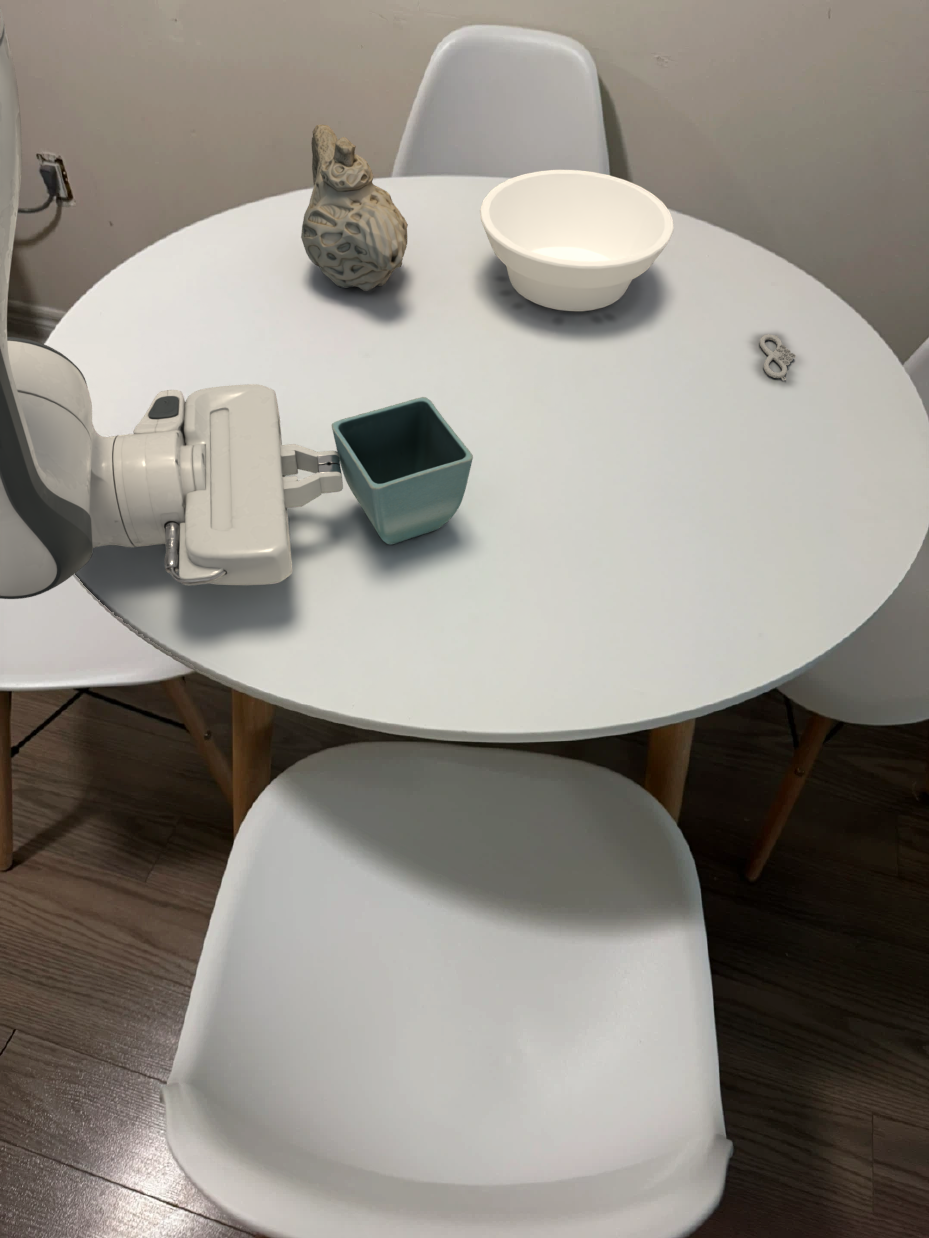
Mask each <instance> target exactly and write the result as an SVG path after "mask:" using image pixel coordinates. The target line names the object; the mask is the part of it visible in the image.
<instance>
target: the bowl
mask: <svg viewBox="0 0 929 1238" xmlns="http://www.w3.org/2000/svg"><path fill="white" fill-rule="evenodd" d="M479 216H480V222H481V224H482V226H483V227H482V228H483V229H484V232H485V234H486V237H487V240H488V242H489V245H490V246H491V249H492V251H493V252H494V255H495V256H496V257H497V258H498V259H499V260H500V261H501V262H502V263H503V265H505V266H506V271H507V275H508V278H509V281H510V284H511V286H512V288H514V290H515V291H516V292H517V293H518V294H519V295H521V296H522V297H523V298H525V299H526V300H528V301H530V302H532V303H534V304H536V305H539V306H542V307H544V308H548V309H553V310H558V311H565V312H587V311H594V310H599V309H602V308H605V307H608V306H610V305H613V304H614V303H616V302H617V301H618V300H620V299H621V298H622V297H623V296H624V295H625V294H626V291H627V290H628V288H629V286H630V284H631V283H632V281H633V280H634V279H637V278H638V277H640V276H641V275H642V274H644V273H645V272H646V271H648V269H649V268H650V267H651V266H652V265H653V264H654V263H655V262H656V260H657V259H658V257H659V256H660V254H661V253H662V252H663V251H664V249H665V248H666V247H667V245H668V244H669V243H670V241H671V239H672V237H673V234H674V220H673V217H672V214H671V211H670V210H669V208H667V206H666V205H665V203H664V202H663V201H662V200H661V199H660V198H658V197H657V196H656V195H654V194H653V193H651V191H649V190H647V189H645V188H644V187H642V186H640V185H638V184H635V183H633V182H631V181H628V180H627V179H623V178H621V177H620V178H619V177H616V176H613V175H609V174H605V173H601V172H600V173H599V172H596V171H588V170H579V169H578V170H577V169H550V170H548V169H547V170H537V171H533V172H527V173H524V174H520V175H518V176H514V177H511V178H509V179H507V180H504V181H503V182H501V183H499V184H497V185H496V186H495V187H494V188H492V189H491V190H490V191H489V192H488V193H487V195H486V196H485V197H484V198H483V200H482V203H481V206H480V209H479Z"/></svg>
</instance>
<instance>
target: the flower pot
mask: <svg viewBox="0 0 929 1238" xmlns="http://www.w3.org/2000/svg"><path fill="white" fill-rule="evenodd" d="M331 430H332V434H333V438H334V443H335V447H336V451H337V452H338V453H339V460H340V467H341V472H342V475H343V477H344V479H345V482H346V485H348V487H349V489H350V491H351V493H352V494H353V496H354V498H355V499H356V501H357V502H358V504H359V506H360V507H361V509H362V510H363V512H364V514H365V515H366V517H367V519H368V520H369V522H370V523H371V525H372V526H373V528H374V529H375V531H376V533H377V535H378V536H379V537H380V539H381V540H382V541H383V542H384V543H385V544H386V545H389V546H391V545H395V544H398V543H401V542H404V541H407V540H409V539H412V538H416V537H419V536H422V535H425V534H428V533H431V532H434V531H437V530H439V529H440V528H441V527H443V526H445V524H446V523H448V521H449V520H451V519H452V517H453V516H454V515H455V514H456V512H457V511H458V509H459V508H460V506H461V504H462V501H463V499H464V497H465V493H466V489H467V485H468V480H469V476H470V473H471V468H472V464H473V459H474V456H473V454H472V452H471V451H470V449H469V448H468V447H467V446H466V445H465V443H464V442H463V441H462V439H461V438H460V437H459V435H458V434H457V433H456V432H455V431H454V429H453V428H452V427H451V425H450V424H449V423H448V422H447V420H446V419H445V418H444V416H443V415H442V414H441V412H440V411H439V410H438V409H437V407H436V405H435V404H434V403H433V401H432V400H431V399H429V398H428V397H426V396H421V397H415V398H413V399H409V400H406V401H402V402H399V403H395V404H393V405H392V404H391V405H389V406H386V407H382V408H378V409H373V410H371V411H368V412H363V413H359V414H357V415H353V416H348V417H345V418H342V419H341V418H340V419H339V420H336V421H334V422H332V423H331Z"/></svg>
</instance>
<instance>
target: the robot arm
mask: <svg viewBox="0 0 929 1238" xmlns="http://www.w3.org/2000/svg"><path fill="white" fill-rule="evenodd" d="M19 96H20V95H19V88H18V80H17V74H16V68H15V62H14V58H13V53H12V48H11V44H10V41H9V36H8V32H7V28H6V23H5V21H4V15H3V12H2V8H1V7H0V600H21V599H27V598H28V599H29V598H33V597H37V596H39V595H42V594H44V593H46V592H49V591H51V590H52V589H54V588H56V587H58V586H59V585H61V584H63V583H64V582H66V581H67V580H68V579H70V578H71V577H73V576H74V575H75V574H76V573H78V572H79V571H80V570H81V569H82V568H83V567H85V565H87V564H88V563H89V561H90V560H91V558H92V555H93V552H94V549H95V548H98V547H103V546H120V547H124V548H141V547H148V546H149V547H150V546H158V545H164V546H165V555H164V559H163V566H164V569H165V572H167V574H170V576H171V577H172V578H173V579H174V580H175V581H177V582H178V583H181V584H182V585H184V586H197V585H206V584H210V585H219V586H220V585H222V586H260V585H274V584H279V583H281V582H283V581H285V580H286V579H287V578H289V577H290V576H291V575H292V574H293V562H292V549H291V538H290V537H291V536H290V535H291V534H290V526H289V513H288V509H291V508H300V507H304V506H305V505H307V504H308V503H311V502H312V501H314V500H315V499H317V498H319V497H320V496H322V495H323V494H332V493H340V492H341V491H343V490H344V483H343V472H342V468H341V464H340V460H339V453H338V452H337V450H329V451H328V450H326V451H325V450H324V451H317V450H314V449H311V448H308V447H305V446H302V445H299V444H296V443H291V444H290V443H288V444H283V441H282V429H281V428H282V427H281V418H280V410H279V403H278V398H277V393H276V391H275V390H274V389H273V388H271V387H268V386H265V385H263V384H259V383H258V384H257V383H255V384H254V383H252V384H249V383H247V384H233V385H222V386H221V385H220V386H214V387H213V386H212V387H207V388H202V389H198V390H196V391H194V392H192V393H191V394H189V395H188V396H187V397H186V399H185V396H184V393H183V392H182V391H181V390H179V389H166V390H162V391H158V393H156V395H155V396H154V398H153V400H152V402H151V403H150V405H149V407H148V408H147V411H146V412H145V414H144V415H143V417H142V418H141V419H140V421H139V422H138V423H137V424H136V426H135V427H134V429H133V430H132V433H126V434H117V435H113V436H103V435H100V434H99V433H98V432H97V430H96V428H95V426H94V422H93V402H92V397H91V394H90V390H89V388H88V383H87V380H86V377H85V375H84V374H83V372H82V371H81V369H80V368H79V367H78V366H77V365H76V364H75V363H74V362H73V361H72V360H71V359H70V358H68V357H67V355H64V354H63V353H62V352H60V351H58V350H56V349H55V348H53V347H51V346H49V345H47V344H44V343H42V342H38V341H36V340H31V339H28V338H23V337H14V336H8V302H9V301H8V297H9V287H10V277H11V276H10V275H11V267H12V259H13V258H12V257H13V250H14V243H15V236H16V227H17V220H18V212H19V206H20V205H19V204H20V196H21V188H22V187H21V185H22V176H23V175H22V174H23V136H22V135H23V133H22V118H21V106H20V98H19ZM299 471H303V472H304V471H305V472H309V473H313V474H310V475H308V476H306V477H304V478H301V479H300V480H299V479H298V476H296V475H298V474H299Z"/></svg>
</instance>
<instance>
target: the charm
mask: <svg viewBox="0 0 929 1238" xmlns="http://www.w3.org/2000/svg"><path fill="white" fill-rule="evenodd" d="M767 340H770V341H773V342H774V343H775V344H776V348H775V349H774V350H773V351H772V350H771V349H770V348H769V347H768V346H767V345H766V341H767ZM759 346H760V348H761V350H762V351H763V352H764V353H765V354H766V355H767V357H766V359H765V360H764V363H763V370H764V372H765V373H766V375H768V376H769V377H771V378H774V379H781V380H782V381H787V378H786V377H785V376H786V375H787V373H788V367H787V366H789V365H791V362H793V359H795V358H796V357H797V355H796V354H795V353H793V352H792V351H791V350H790V349H789V348H787V346H786V345H784V344H783V342H782V340H781V339H780V338H779V335H777V334H775V335H774V334H771V333H770V334H769V333H767V334H764V335H762V336H761V337H760V339H759ZM772 361H775V363H777V365H778V366H779V367H780V369H781V371H779V372H775V371H773V370H772V369H771V368H770V363H771V362H772Z"/></svg>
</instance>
